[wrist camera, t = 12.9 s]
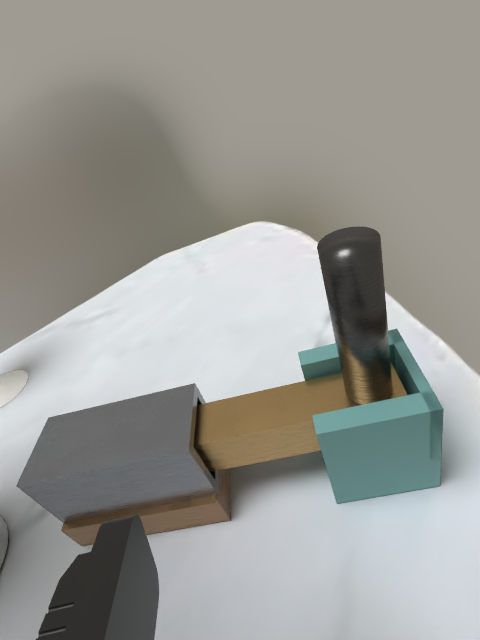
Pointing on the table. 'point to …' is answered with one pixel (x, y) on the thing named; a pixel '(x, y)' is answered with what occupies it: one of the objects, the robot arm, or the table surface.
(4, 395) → the champagne flute
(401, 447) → the socket
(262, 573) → the table surface
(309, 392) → the board with post
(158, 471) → the sleeve
